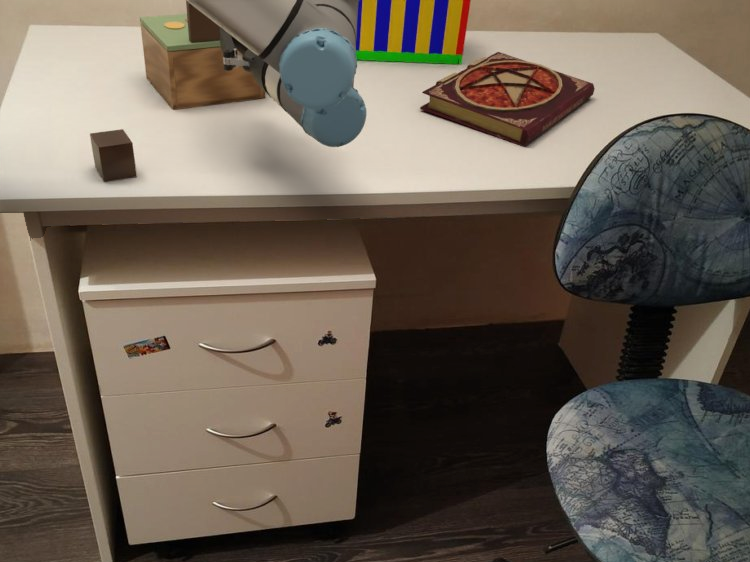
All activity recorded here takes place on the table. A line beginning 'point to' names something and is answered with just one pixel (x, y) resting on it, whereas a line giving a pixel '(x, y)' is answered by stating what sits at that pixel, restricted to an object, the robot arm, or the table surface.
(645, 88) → the table surface
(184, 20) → the lid
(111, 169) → the block
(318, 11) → the robot arm
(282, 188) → the table surface
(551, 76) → the book
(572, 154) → the table surface
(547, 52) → the table surface
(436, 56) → the toy house
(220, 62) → the wooden open box
